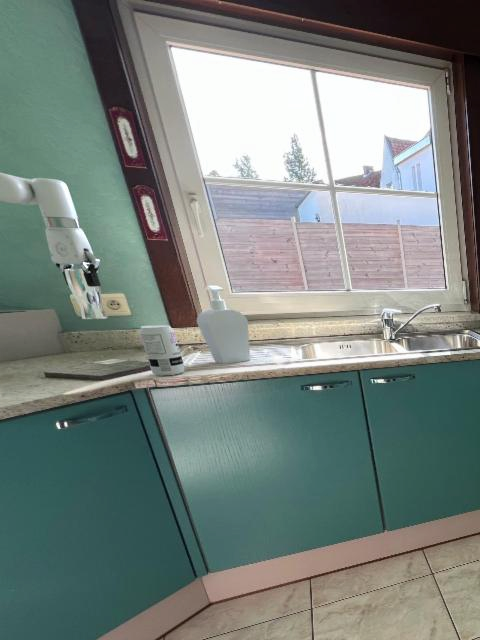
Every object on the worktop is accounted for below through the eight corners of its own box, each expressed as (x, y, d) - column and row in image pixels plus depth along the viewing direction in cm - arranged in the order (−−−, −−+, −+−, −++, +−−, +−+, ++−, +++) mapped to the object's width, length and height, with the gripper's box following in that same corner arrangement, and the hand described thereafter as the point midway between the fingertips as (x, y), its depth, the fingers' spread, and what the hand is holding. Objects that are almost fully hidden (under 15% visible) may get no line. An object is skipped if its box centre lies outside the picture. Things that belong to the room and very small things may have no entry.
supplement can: (149, 373, 157) (133, 326, 151) (180, 369, 163) (167, 323, 157) (157, 377, 152) (142, 328, 147) (190, 373, 159) (176, 326, 153)
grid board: (45, 376, 150) (43, 371, 149) (113, 363, 168) (111, 359, 168) (102, 380, 148) (101, 375, 147) (165, 366, 166) (164, 362, 166)
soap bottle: (242, 356, 185) (225, 284, 175) (257, 359, 180) (239, 286, 171) (205, 361, 175) (184, 285, 165) (219, 365, 170) (198, 287, 161)
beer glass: (81, 320, 155) (63, 269, 149) (79, 317, 159) (62, 268, 154) (111, 318, 160) (95, 269, 154) (108, 316, 164) (93, 268, 158)
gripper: (23, 223, 147) (46, 285, 153) (74, 224, 145) (95, 287, 151) (52, 224, 153) (73, 284, 160) (101, 226, 152) (120, 286, 158)
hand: (84, 285), depth 156 cm, fingers closed on beer glass, 7 cm apart
